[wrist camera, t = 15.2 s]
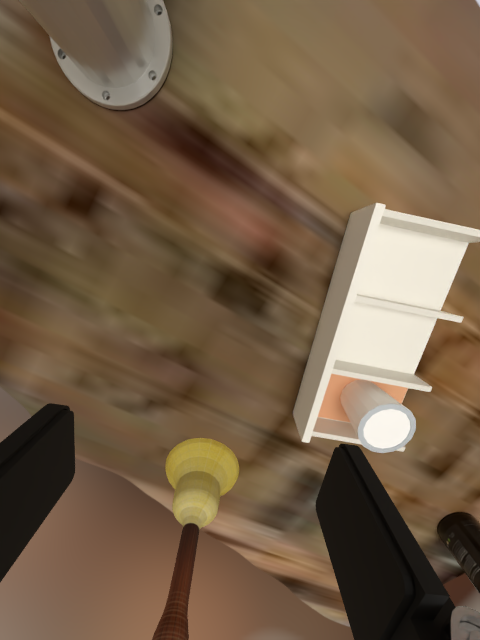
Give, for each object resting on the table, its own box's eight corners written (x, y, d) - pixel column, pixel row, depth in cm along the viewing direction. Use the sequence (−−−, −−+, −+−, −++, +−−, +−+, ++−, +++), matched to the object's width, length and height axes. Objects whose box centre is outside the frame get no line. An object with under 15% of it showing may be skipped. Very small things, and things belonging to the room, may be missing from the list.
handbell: (240, 497, 42) (238, 823, 18) (168, 498, 42) (71, 822, 18) (238, 437, 39) (232, 733, 15) (161, 438, 39) (31, 733, 15)
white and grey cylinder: (355, 425, 37) (381, 463, 30) (326, 396, 36) (346, 429, 29) (393, 396, 36) (428, 430, 29) (363, 366, 34) (393, 393, 28)
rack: (350, 212, 30) (376, 202, 25) (464, 237, 31) (515, 233, 25) (292, 412, 38) (301, 441, 32) (385, 429, 38) (410, 460, 33)
